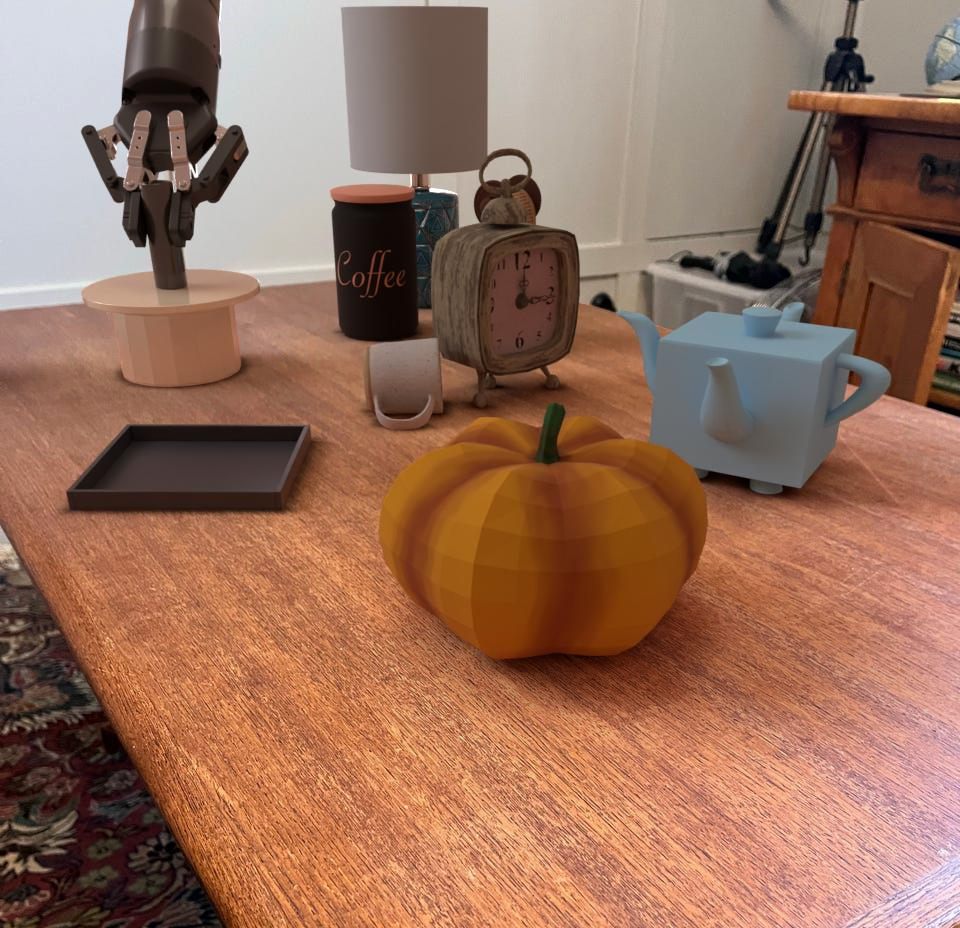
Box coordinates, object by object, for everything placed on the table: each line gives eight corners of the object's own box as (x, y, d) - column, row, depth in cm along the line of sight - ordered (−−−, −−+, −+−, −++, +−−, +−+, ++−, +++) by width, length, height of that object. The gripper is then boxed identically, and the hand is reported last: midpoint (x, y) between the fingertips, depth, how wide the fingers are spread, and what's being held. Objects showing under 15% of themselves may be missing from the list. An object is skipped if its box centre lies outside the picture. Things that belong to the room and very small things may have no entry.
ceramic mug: (368, 401, 112) (364, 330, 108) (442, 399, 112) (441, 329, 108) (364, 435, 103) (359, 360, 99) (444, 434, 103) (443, 359, 99)
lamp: (391, 325, 141) (377, 5, 121) (339, 297, 155) (318, 8, 136) (510, 309, 149) (515, 6, 129) (450, 284, 163) (446, 9, 144)
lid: (57, 322, 79) (30, 194, 74) (115, 283, 91) (95, 171, 86) (242, 322, 79) (226, 194, 74) (275, 282, 91) (263, 170, 86)
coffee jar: (328, 341, 133) (316, 193, 124) (355, 322, 142) (347, 182, 133) (405, 346, 131) (400, 196, 122) (428, 326, 140) (425, 185, 131)
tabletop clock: (476, 416, 107) (476, 156, 95) (425, 396, 113) (418, 149, 101) (574, 390, 115) (587, 147, 103) (522, 372, 121) (527, 141, 109)
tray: (70, 513, 86) (65, 491, 85) (130, 443, 100) (126, 424, 99) (282, 513, 86) (280, 491, 85) (311, 443, 100) (310, 424, 99)
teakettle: (883, 499, 89) (921, 328, 81) (686, 521, 85) (707, 343, 77) (775, 429, 104) (799, 280, 97) (604, 444, 100) (615, 291, 93)
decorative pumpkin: (384, 557, 79) (374, 364, 71) (664, 549, 80) (684, 359, 72) (380, 704, 61) (367, 471, 54) (737, 691, 63) (774, 461, 55)
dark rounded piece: (527, 366, 124) (532, 188, 113) (427, 348, 130) (423, 179, 120) (582, 339, 135) (590, 174, 124) (487, 325, 141) (488, 167, 131)
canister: (108, 389, 116) (93, 313, 111) (142, 356, 127) (130, 286, 123) (227, 389, 115) (217, 313, 111) (250, 356, 127) (242, 286, 123)
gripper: (72, 23, 81) (50, 211, 77) (246, 23, 81) (233, 210, 77) (106, 95, 88) (87, 269, 84) (266, 94, 88) (255, 269, 84)
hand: (157, 240), depth 81 cm, fingers closed on lid, 2 cm apart
